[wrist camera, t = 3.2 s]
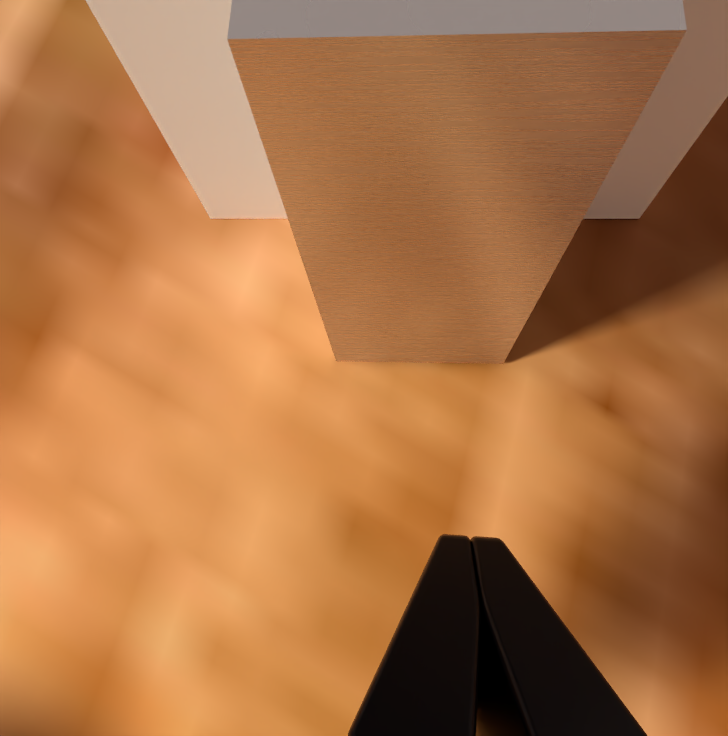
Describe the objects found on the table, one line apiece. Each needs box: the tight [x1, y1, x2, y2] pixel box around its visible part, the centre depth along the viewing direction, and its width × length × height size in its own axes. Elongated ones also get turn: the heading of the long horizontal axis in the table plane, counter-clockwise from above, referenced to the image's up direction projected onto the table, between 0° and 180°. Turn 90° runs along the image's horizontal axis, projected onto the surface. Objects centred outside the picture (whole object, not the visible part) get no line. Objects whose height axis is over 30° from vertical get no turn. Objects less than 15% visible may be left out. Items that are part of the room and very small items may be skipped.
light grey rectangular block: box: [227, 0, 687, 364], centre depth 14 cm, size 10×5×12 cm, turn 178°
